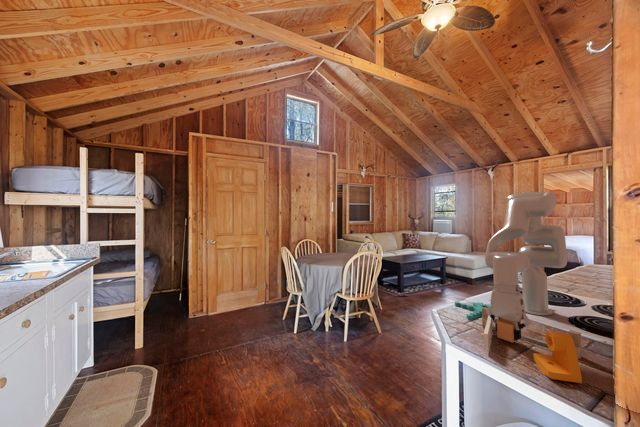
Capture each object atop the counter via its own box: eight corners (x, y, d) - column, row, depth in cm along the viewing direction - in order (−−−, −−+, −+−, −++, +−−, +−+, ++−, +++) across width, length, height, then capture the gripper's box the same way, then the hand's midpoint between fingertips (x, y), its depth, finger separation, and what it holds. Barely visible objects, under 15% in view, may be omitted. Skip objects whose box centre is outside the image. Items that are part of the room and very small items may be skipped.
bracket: (532, 361, 84) (531, 324, 84) (560, 364, 81) (559, 326, 81) (549, 381, 73) (547, 339, 74) (582, 386, 71) (580, 342, 71)
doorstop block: (503, 333, 100) (503, 318, 100) (519, 338, 95) (518, 322, 95) (497, 337, 97) (496, 321, 97) (512, 342, 93) (512, 325, 93)
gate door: (493, 326, 107) (492, 312, 107) (488, 350, 88) (487, 334, 88) (486, 324, 108) (486, 311, 108) (480, 348, 89) (480, 332, 89)
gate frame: (485, 325, 111) (485, 306, 111) (582, 356, 85) (581, 332, 85) (482, 327, 109) (481, 308, 109) (579, 359, 84) (578, 334, 84)
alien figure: (468, 320, 117) (518, 323, 113) (468, 316, 117) (517, 318, 113) (454, 305, 137) (496, 307, 133) (454, 301, 137) (496, 303, 133)
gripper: (538, 291, 91) (540, 342, 91) (486, 281, 105) (488, 325, 105) (529, 295, 87) (531, 349, 87) (476, 285, 102) (479, 331, 102)
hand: (508, 336), depth 96 cm, fingers closed on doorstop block, 5 cm apart
